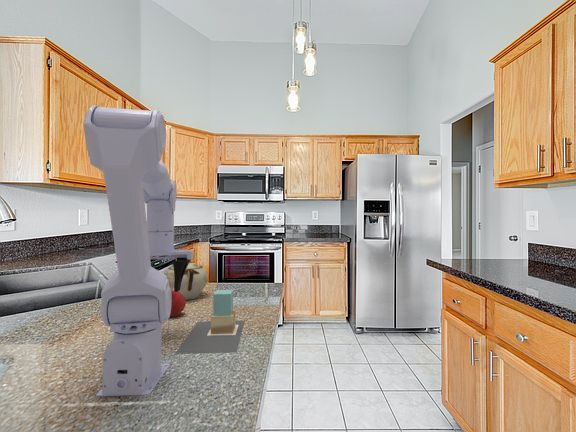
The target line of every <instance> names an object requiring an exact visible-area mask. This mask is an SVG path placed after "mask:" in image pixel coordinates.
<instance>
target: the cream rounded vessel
mask: <svg viewBox="0 0 576 432" xmlns="http://www.w3.org/2000/svg"><path fill="white" fill-rule="evenodd" d="M163 274H165V275H166V276H167V279H168V281H169V287H170V289H171V291H172V290H173V288H174V267H173V265H172V266H169V267H168V269H166V270H165V271H164V272H163ZM208 281H209V274H208V272H207V269H205V268H204V267H203V265H199V264H198V263H196V262H195V263H194V262H192V261H191V260H190V262H189V264H188V266H187V268H186V270H185V273H184V276H183V279H182V282H181V288H180V290H179V291H178V292H180V293H181V294H182V295H183V296H184V297H185V300H193V299H197V298H198V297H199V296H200V294H201V293H202V291H203V290H204V289H205V288H206V286H207V283H208Z"/></svg>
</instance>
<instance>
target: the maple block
mask: <svg viewBox="0 0 576 432" xmlns="http://www.w3.org/2000/svg"><path fill="white" fill-rule="evenodd" d="M210 321H211V334H233V332H234V329H235V321H236V309H233V312H232V314H231V316H213V313H212V314H211V316H210Z"/></svg>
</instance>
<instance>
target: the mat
mask: <svg viewBox="0 0 576 432" xmlns="http://www.w3.org/2000/svg"><path fill="white" fill-rule="evenodd" d="M245 322H246V321H245V320H235V329H234V332H233V334H211V320H210V321H197V322H196V323H195V325H194V326H193V328H192V329H191V330H190V332H189V333H188V335H187V336H186V338H185V339H184V340H183V342H182V343H181V344H180V346H179V348H178V349H177V350H176V352H175V354H174V355H180V354H181V355H182V354H183V355H184V354H185V355H188V354H190V355H191V354H222V353H223V354H224V353H225V354H227V353H230V354H231V353H237V352H238V349H239V345H240V341H241V337H242V334H243V333H242V332H243V330H244V325H245Z"/></svg>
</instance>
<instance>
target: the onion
mask: <svg viewBox="0 0 576 432" xmlns="http://www.w3.org/2000/svg"><path fill="white" fill-rule="evenodd" d="M171 296H172V301H171V312H170V317H171V318H172V317H173V318H175V317H178V316H179V315H180V314H182V312H183V311H184V310H185V308H186V304H187V301H186V300H185V297H184V296H183V295H182V294H181V293H180V292H174V288H173V290H172V291H171Z"/></svg>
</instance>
